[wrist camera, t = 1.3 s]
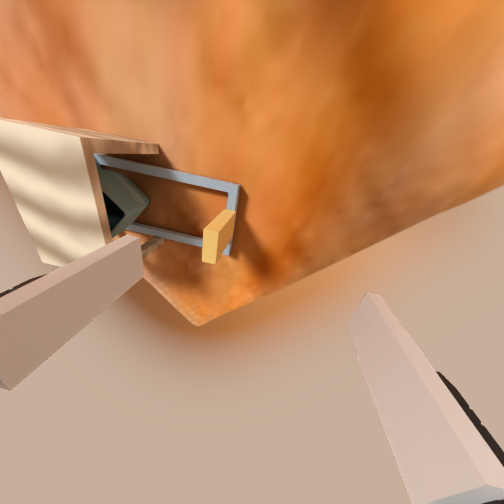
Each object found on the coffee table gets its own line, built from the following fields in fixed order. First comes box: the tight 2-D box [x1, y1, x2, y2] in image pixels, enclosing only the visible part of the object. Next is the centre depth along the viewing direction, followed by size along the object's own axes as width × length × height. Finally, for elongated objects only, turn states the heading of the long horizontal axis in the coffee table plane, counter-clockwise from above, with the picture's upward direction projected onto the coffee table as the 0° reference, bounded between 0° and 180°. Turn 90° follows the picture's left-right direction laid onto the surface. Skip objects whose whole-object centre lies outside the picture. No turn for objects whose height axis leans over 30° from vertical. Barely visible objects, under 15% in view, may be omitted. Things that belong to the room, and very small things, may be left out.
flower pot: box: [97, 168, 149, 238], centre depth 32 cm, size 9×9×9 cm
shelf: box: [0, 118, 164, 267], centre depth 30 cm, size 19×12×14 cm, turn 169°
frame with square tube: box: [94, 153, 241, 265], centre depth 30 cm, size 14×28×12 cm, turn 79°
